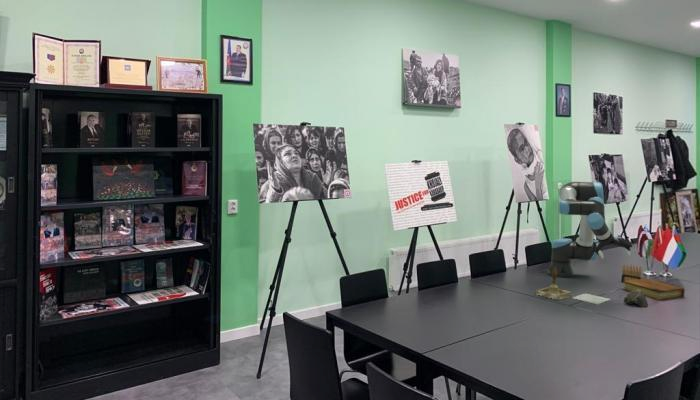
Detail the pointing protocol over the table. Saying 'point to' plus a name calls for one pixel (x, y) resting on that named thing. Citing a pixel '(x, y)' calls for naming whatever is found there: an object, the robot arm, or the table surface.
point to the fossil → (636, 298)
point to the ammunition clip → (631, 273)
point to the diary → (654, 289)
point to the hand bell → (554, 283)
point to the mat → (591, 299)
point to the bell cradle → (557, 297)
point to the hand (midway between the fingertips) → (615, 254)
